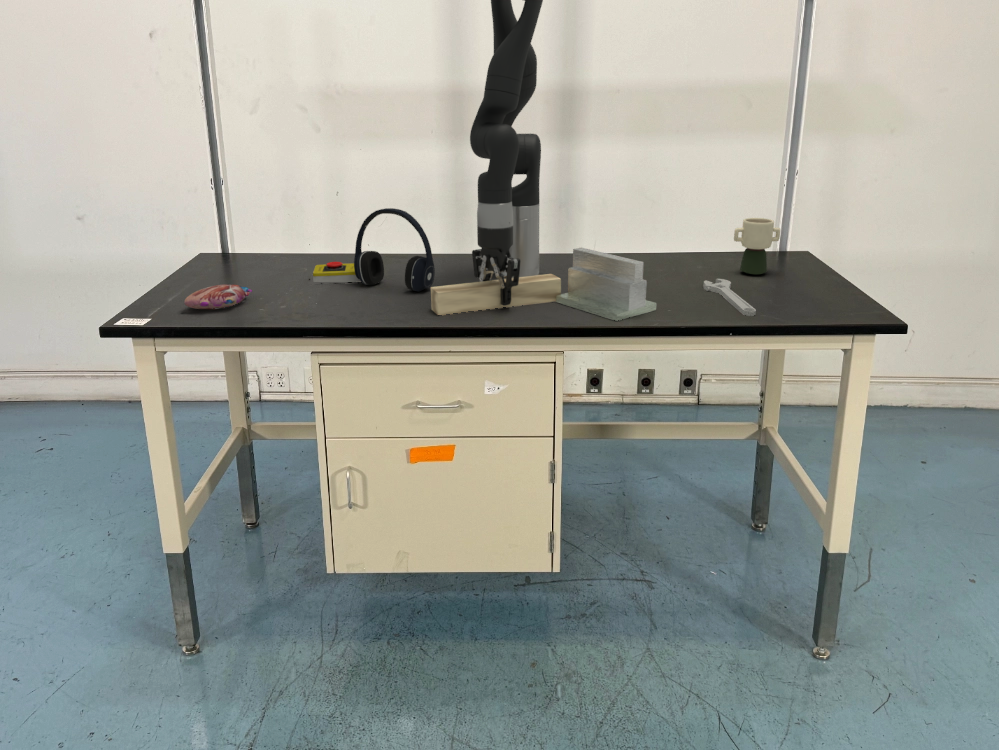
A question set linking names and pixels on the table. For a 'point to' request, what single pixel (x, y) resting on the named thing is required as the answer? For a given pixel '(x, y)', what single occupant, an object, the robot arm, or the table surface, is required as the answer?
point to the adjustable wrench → (730, 296)
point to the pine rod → (493, 294)
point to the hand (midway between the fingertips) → (496, 301)
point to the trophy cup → (756, 243)
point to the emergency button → (335, 272)
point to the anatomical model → (217, 297)
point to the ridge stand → (606, 285)
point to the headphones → (371, 262)
